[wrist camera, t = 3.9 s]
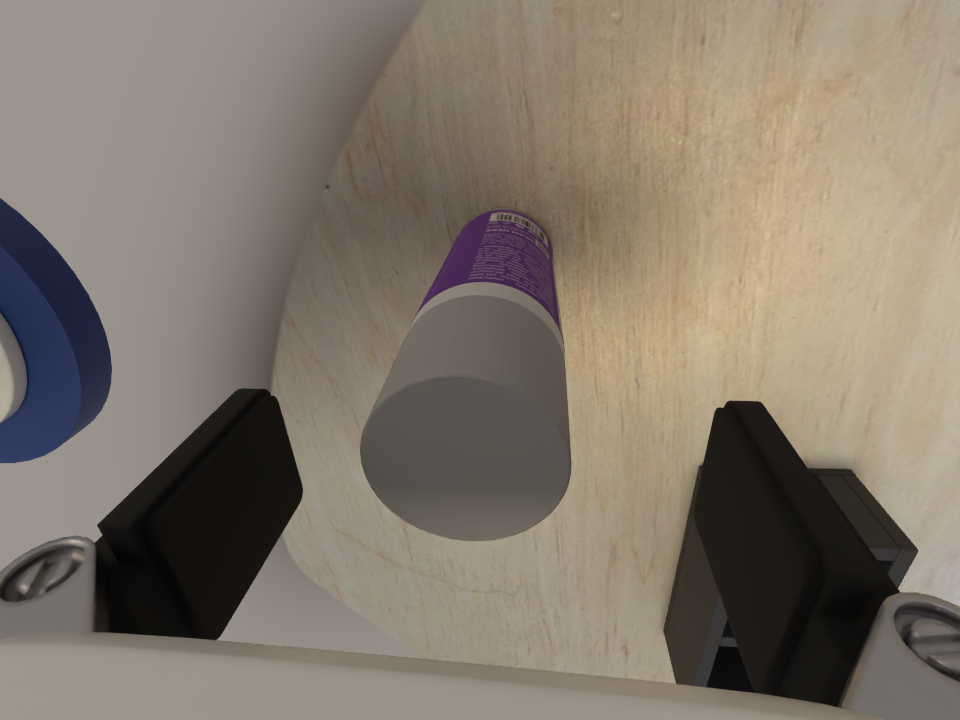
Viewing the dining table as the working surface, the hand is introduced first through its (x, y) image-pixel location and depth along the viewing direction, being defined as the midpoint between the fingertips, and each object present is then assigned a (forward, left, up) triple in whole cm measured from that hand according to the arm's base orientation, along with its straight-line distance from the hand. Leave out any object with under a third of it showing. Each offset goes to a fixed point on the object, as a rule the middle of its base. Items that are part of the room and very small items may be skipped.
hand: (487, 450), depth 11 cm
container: (0, 0, -15) cm, 15 cm away
